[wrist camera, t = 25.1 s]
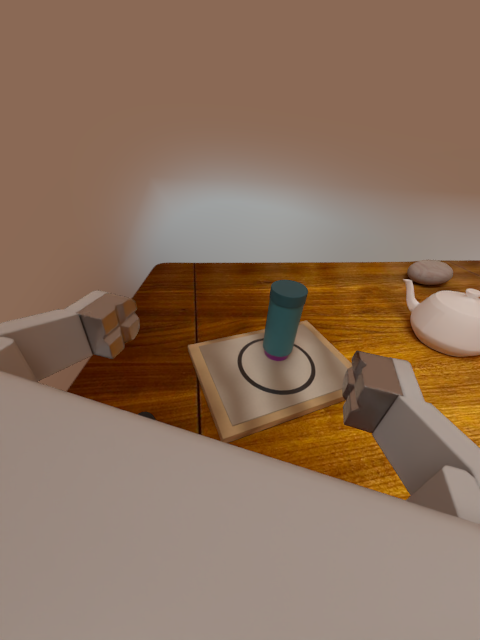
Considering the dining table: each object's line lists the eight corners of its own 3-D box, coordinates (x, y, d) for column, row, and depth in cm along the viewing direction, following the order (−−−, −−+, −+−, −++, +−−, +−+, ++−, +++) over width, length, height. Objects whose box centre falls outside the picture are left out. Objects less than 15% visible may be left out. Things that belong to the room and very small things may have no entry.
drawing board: (222, 445, 28) (222, 437, 27) (187, 350, 40) (187, 343, 39) (371, 391, 36) (375, 383, 35) (305, 325, 48) (307, 318, 47)
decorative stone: (428, 293, 62) (439, 274, 59) (395, 278, 68) (403, 260, 65) (455, 284, 68) (466, 266, 65) (422, 270, 74) (431, 254, 71)
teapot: (371, 320, 50) (392, 273, 45) (401, 304, 57) (424, 260, 51) (494, 389, 38) (547, 335, 32) (516, 358, 44) (563, 308, 38)
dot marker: (270, 366, 36) (282, 299, 30) (256, 346, 40) (265, 282, 33) (297, 359, 38) (315, 294, 31) (281, 340, 41) (295, 278, 35)
